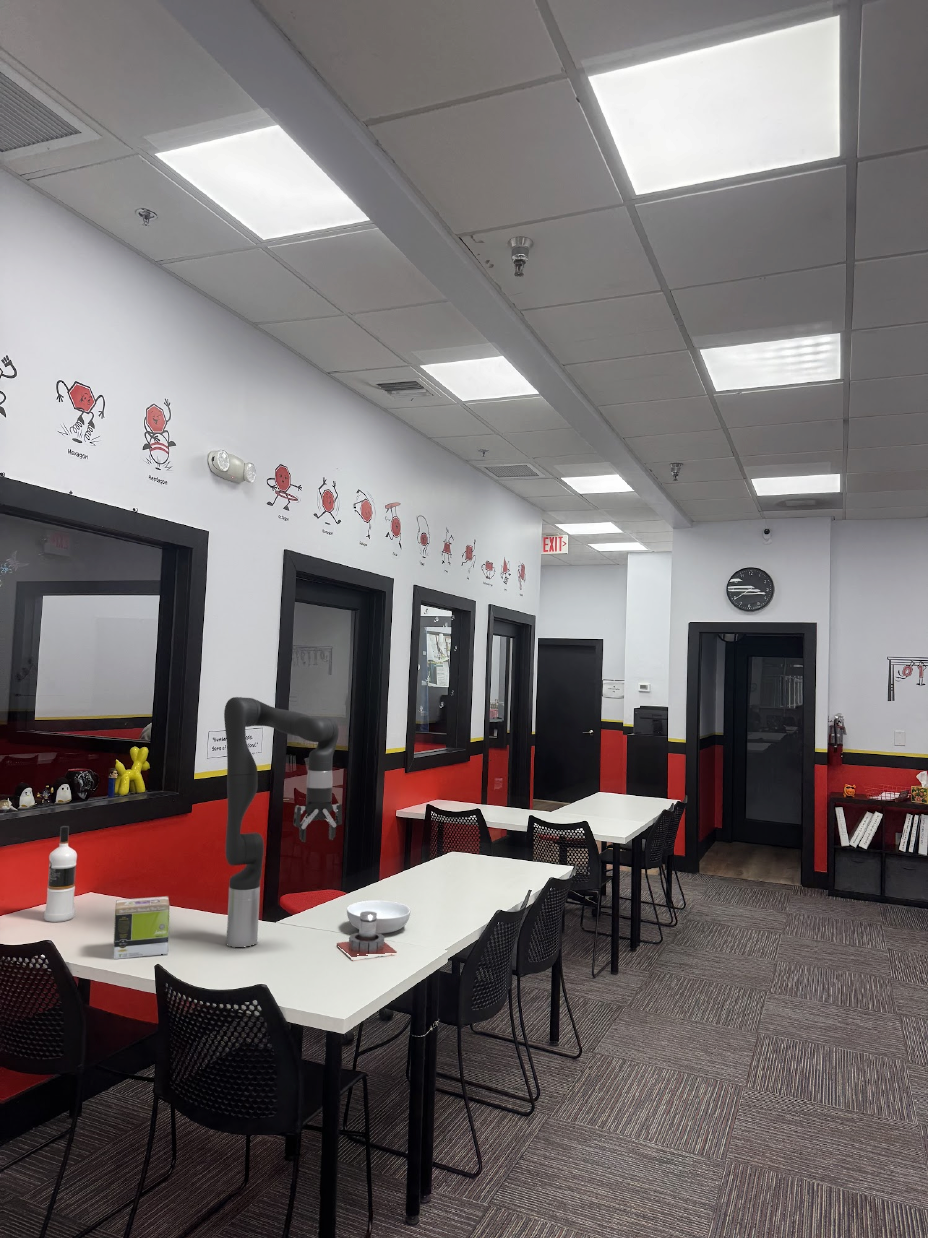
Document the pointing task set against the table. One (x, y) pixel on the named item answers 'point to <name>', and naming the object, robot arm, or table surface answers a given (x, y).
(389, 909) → the serving bowl
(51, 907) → the vodka
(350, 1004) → the table surface
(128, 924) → the tea box
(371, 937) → the cylinder
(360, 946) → the collar
